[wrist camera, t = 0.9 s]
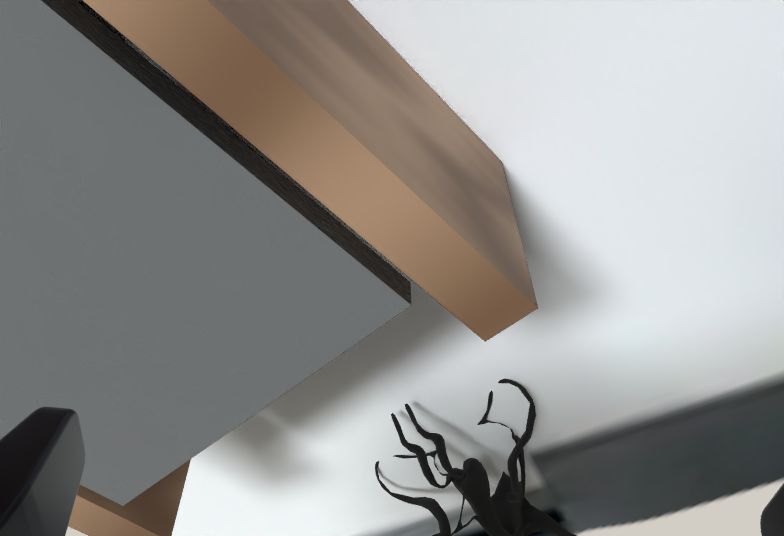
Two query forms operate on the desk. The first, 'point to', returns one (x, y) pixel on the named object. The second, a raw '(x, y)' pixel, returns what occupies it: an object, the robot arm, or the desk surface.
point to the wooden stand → (336, 163)
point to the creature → (482, 485)
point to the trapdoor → (154, 257)
